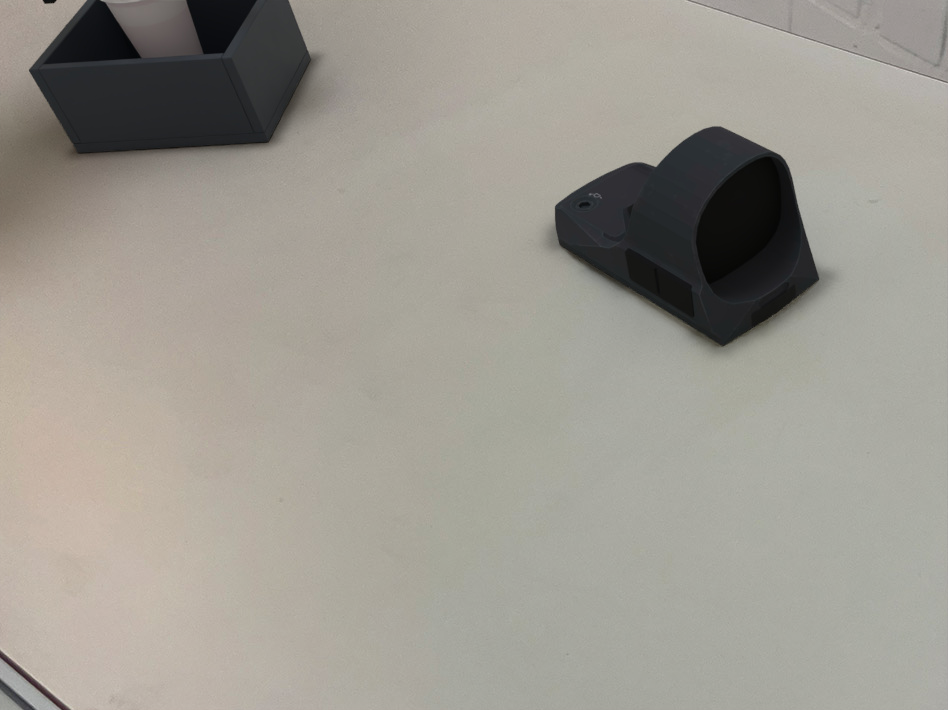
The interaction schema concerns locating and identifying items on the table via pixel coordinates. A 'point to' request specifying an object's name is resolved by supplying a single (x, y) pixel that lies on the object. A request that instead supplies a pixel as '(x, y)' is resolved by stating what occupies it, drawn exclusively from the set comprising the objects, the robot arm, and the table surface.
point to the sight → (697, 232)
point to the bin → (174, 78)
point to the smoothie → (157, 26)
